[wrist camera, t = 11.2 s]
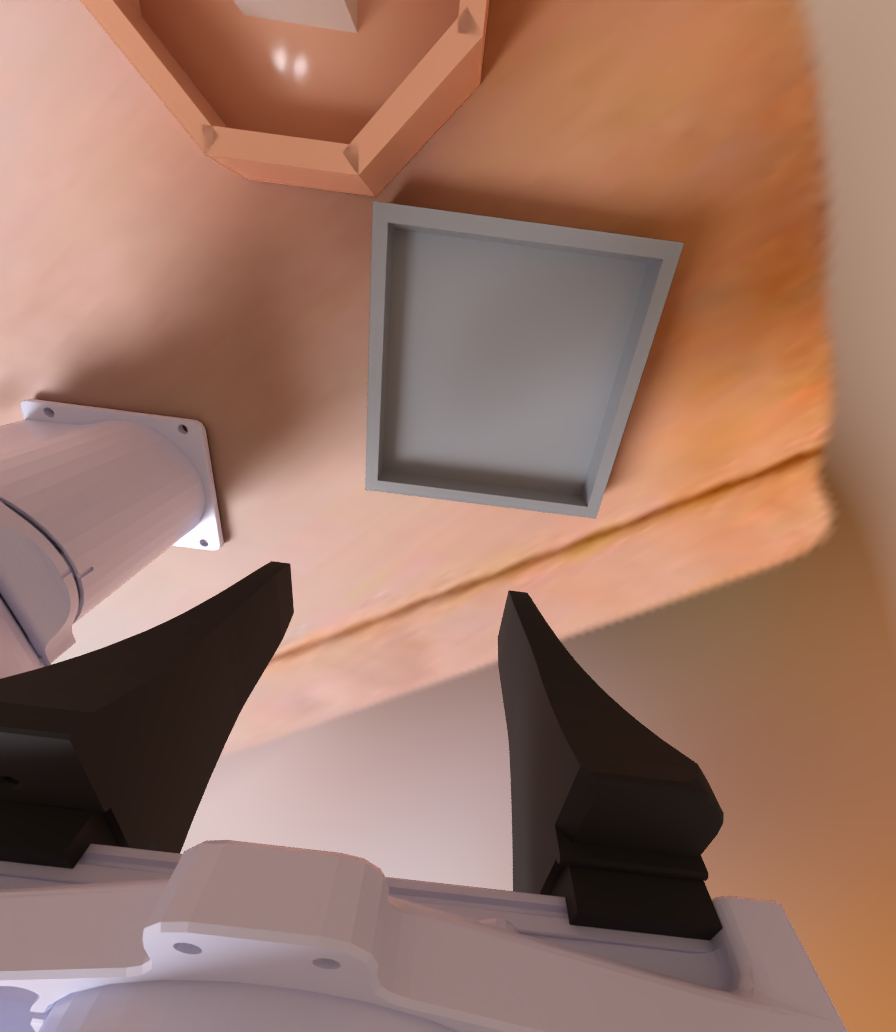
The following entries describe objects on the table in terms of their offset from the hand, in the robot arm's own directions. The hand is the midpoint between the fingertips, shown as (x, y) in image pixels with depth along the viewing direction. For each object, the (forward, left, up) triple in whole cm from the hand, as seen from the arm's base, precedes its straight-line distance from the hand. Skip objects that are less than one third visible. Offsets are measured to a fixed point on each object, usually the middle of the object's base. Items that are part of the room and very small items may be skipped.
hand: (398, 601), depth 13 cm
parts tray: (+3, +6, -10) cm, 12 cm away
